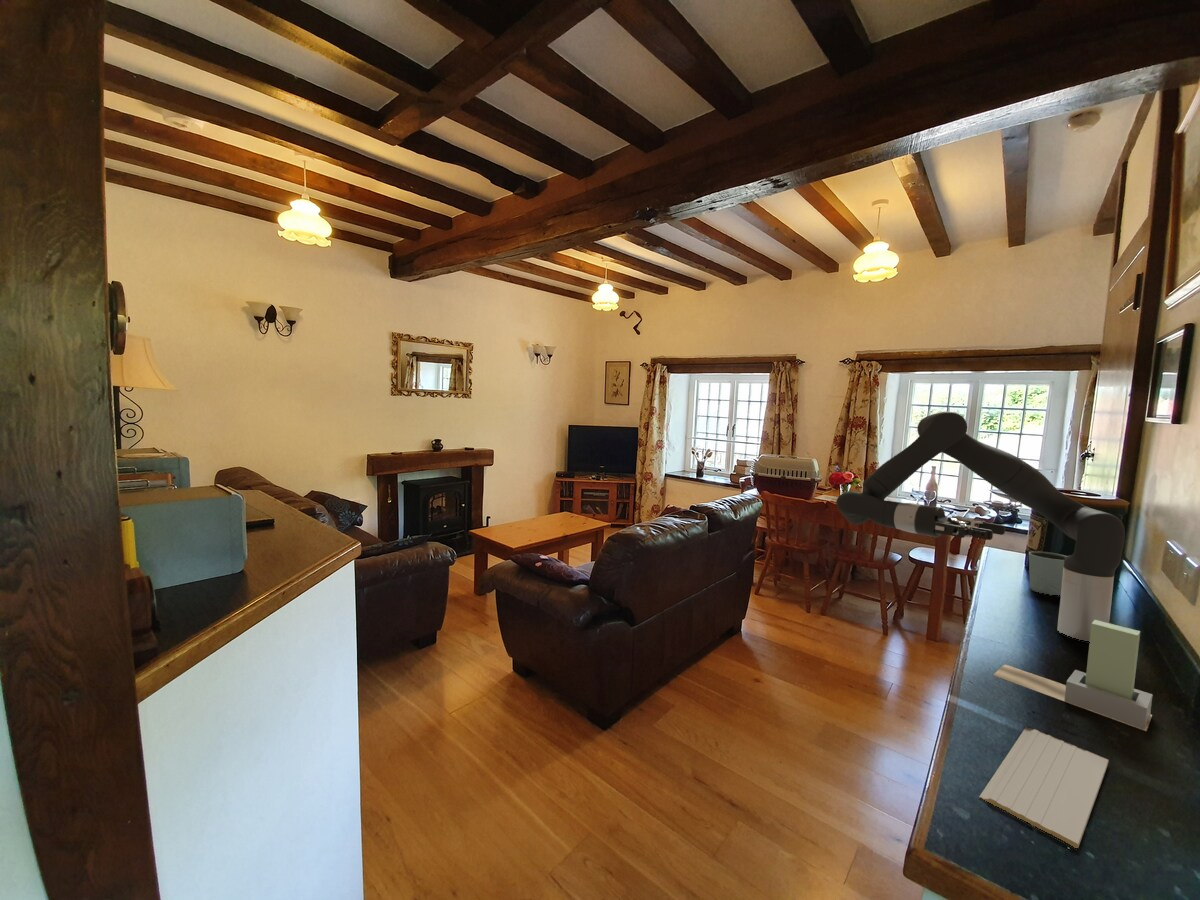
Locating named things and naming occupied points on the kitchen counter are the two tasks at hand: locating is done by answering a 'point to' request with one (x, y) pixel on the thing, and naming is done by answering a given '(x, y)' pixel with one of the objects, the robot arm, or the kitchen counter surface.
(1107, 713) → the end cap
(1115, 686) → the slat
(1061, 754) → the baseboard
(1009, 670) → the board
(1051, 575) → the grey-green pot
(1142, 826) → the kitchen counter surface
